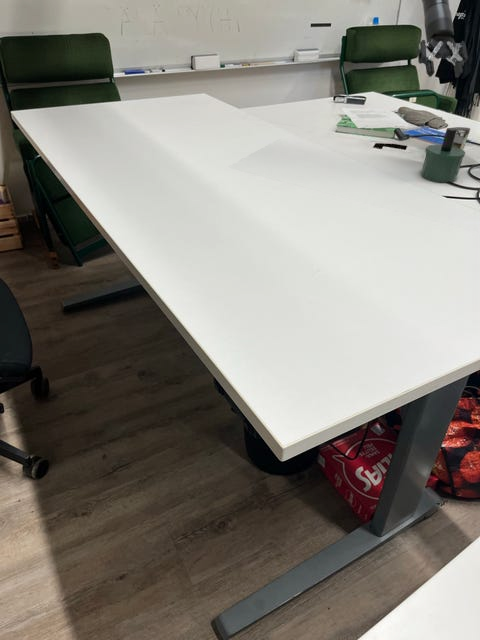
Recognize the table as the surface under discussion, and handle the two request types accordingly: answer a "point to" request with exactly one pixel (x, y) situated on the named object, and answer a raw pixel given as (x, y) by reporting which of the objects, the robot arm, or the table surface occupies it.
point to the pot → (440, 168)
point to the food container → (461, 137)
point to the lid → (447, 146)
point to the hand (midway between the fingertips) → (445, 75)
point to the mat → (397, 146)
